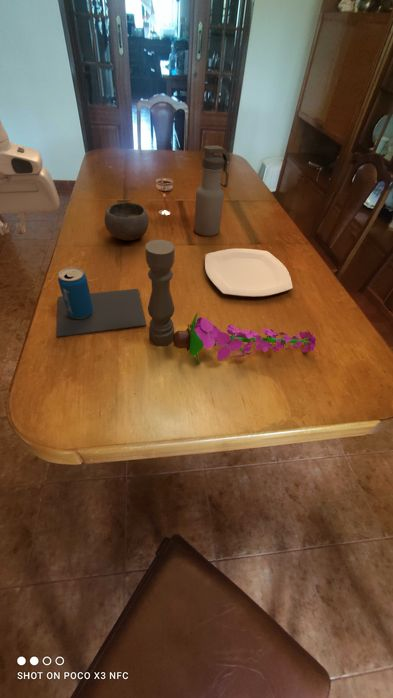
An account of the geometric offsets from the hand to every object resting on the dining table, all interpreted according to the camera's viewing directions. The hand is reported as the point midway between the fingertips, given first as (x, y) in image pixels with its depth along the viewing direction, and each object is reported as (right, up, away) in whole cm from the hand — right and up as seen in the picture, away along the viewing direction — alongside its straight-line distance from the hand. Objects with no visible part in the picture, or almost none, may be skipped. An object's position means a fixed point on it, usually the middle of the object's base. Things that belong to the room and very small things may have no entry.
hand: (14, 233), depth 65 cm
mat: (+12, -14, +20) cm, 27 cm away
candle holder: (+29, -21, +15) cm, 39 cm away
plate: (+54, 0, +37) cm, 65 cm away
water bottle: (+42, +21, +56) cm, 73 cm away
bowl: (+13, +16, +49) cm, 53 cm away
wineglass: (+24, +32, +65) cm, 77 cm away
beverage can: (+7, -14, +18) cm, 24 cm away
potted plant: (+49, -24, +14) cm, 56 cm away
